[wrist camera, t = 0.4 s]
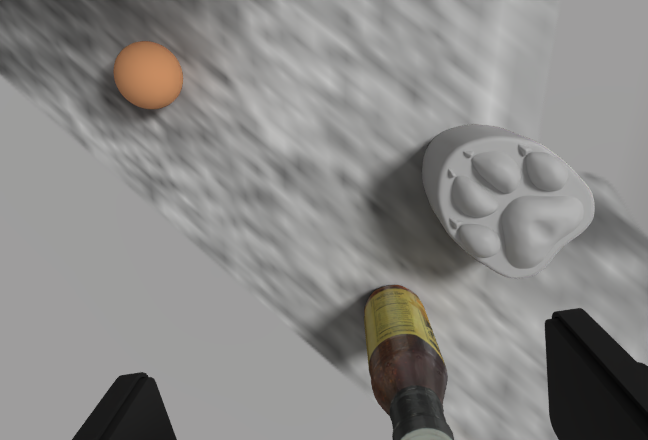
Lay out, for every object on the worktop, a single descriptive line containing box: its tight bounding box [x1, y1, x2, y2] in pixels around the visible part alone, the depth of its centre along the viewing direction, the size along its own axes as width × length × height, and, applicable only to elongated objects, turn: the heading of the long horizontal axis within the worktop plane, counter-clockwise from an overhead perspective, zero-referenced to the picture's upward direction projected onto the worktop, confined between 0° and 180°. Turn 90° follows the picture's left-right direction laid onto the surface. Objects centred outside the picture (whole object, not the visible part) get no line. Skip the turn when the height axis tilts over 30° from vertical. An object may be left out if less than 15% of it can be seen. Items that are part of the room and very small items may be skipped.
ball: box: [114, 41, 183, 109], centre depth 38 cm, size 6×6×6 cm
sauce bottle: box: [364, 285, 454, 440], centre depth 39 cm, size 7×6×20 cm
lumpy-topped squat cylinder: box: [422, 124, 594, 278], centre depth 39 cm, size 10×13×9 cm
